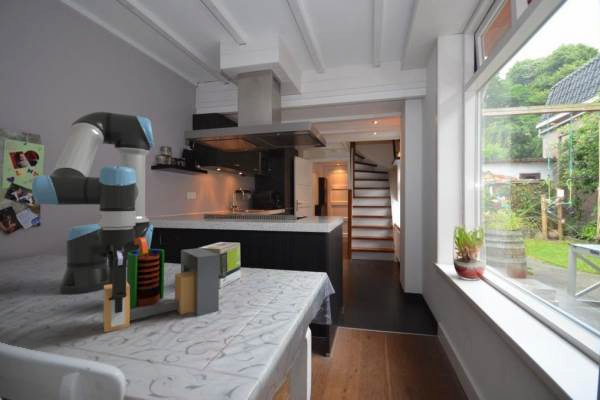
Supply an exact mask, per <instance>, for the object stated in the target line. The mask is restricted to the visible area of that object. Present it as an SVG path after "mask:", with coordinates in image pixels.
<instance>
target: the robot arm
mask: <svg viewBox="0 0 600 400" xmlns="http://www.w3.org/2000/svg"><path fill="white" fill-rule="evenodd" d="M67 133H68V137H69V138H68V140H67V142H66V145H65V147H64V148H63V150H62V152H61V154H60V157H59V159H58V160H57V162H56V164H55V167H54V169H53V170H52V172H51V175H50V174H46V175H45V174H44V175H37V176H35V177H34V179H33V181H32V184H31V185H32V186H31V194H32V197H33V199H34V201H35V202H36V203H37V204H40V205H55V206H63V205H64V206H66V205H67V206H71V205H72V206H73V205H77V206H78V205H79V206H80V205H81V206H82V205H99V209H98V210H99V214H100V215H99V214H98V215H96V217H95V219H96V220H99V222H95V223H89V224H82V225H75V226H73V227H70V228H69V229H68V230H67V238H66V270H65V272H64V274H63V276H62V279H61V282H60V284H59V293H61V294H67V295H76V294H84V293H90V292H96V291H100V290H104V285H109V284H112V297H111V298H109V301H110V300H111V327H114V326H118V325H122V324H125V297H126V295H127V293H126V282H127V257H128V252H131V251H136V250H140V247H139V245H138V244H137V245H135V238H140V237H145V238H146V241H147V246H148V249H151V244H152V239H153V238H152V237H153V233H154V232H153V231H154V225H153V224H150V220H149V218H147V216H146V157H147V156H148V155H149V154H150V152H151V149H155V145H154V136H153V130H152V122H151V120H150V119H149V118H147V117H143V116H138V115H133V114H132V115H131V114H121V113H115V112H109V111H108V112H107V111H95V112H91V113H88V114H87V113H86V114H85V115H83V116H81V117H79V118H78V119H76V120H75V121H74V122H73V123H72V124H71V126H70V127H69V129H68V132H67ZM102 144H103V145H114V151H116V152H117V153H118V155H119V156H118V157H119V159H118V162H119V166H117V165H116V166H114V165H109V166H103V167H101V168H100V170H99V177H98V176H97V177H96V176H90V172H91V170H92V165H93V162H94V159H95V156H96V153H97V150H98V148H99V147H101V146H102Z"/></svg>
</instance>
